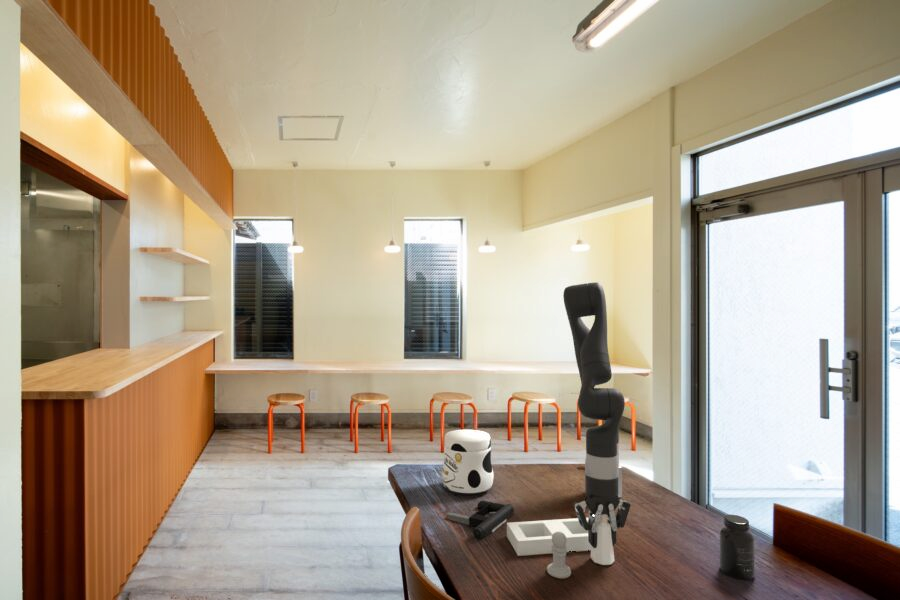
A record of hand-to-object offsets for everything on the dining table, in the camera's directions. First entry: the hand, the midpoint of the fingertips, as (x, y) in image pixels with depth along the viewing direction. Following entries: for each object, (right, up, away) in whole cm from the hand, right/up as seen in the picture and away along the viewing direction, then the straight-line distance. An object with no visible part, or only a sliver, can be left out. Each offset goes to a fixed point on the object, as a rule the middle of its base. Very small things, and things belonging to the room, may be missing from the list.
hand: (602, 545), depth 109 cm
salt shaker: (0, -3, 0) cm, 4 cm away
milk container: (-30, -5, +45) cm, 54 cm away
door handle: (-28, -5, +21) cm, 36 cm away
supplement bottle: (+29, -4, -5) cm, 30 cm away
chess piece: (-11, -4, -5) cm, 13 cm away
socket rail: (-9, -4, +9) cm, 13 cm away
